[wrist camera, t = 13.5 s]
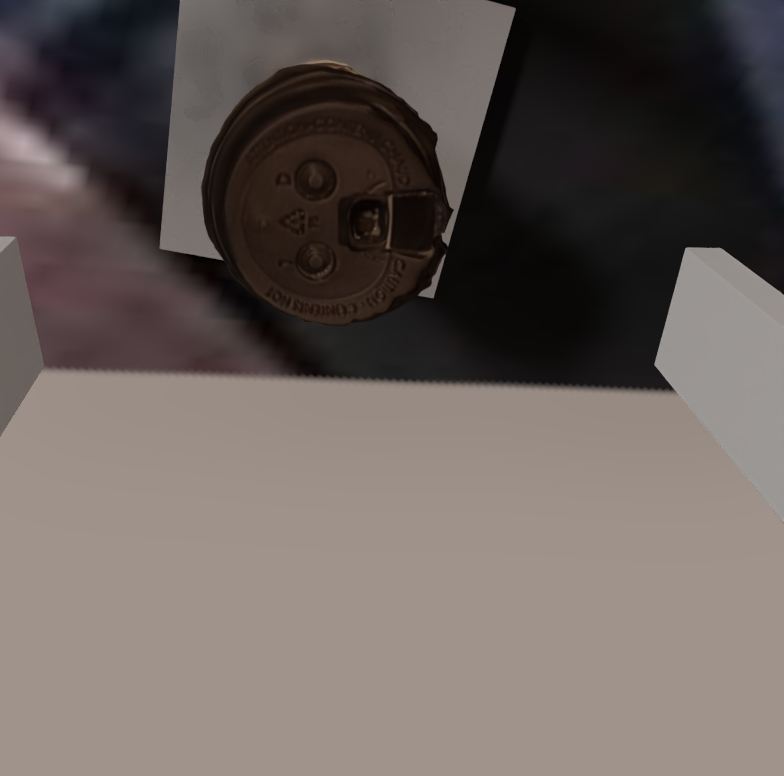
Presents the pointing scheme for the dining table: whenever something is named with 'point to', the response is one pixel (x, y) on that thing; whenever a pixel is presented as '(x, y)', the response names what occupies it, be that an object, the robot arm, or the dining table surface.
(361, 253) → the coffee cup
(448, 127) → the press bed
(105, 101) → the dining table surface
